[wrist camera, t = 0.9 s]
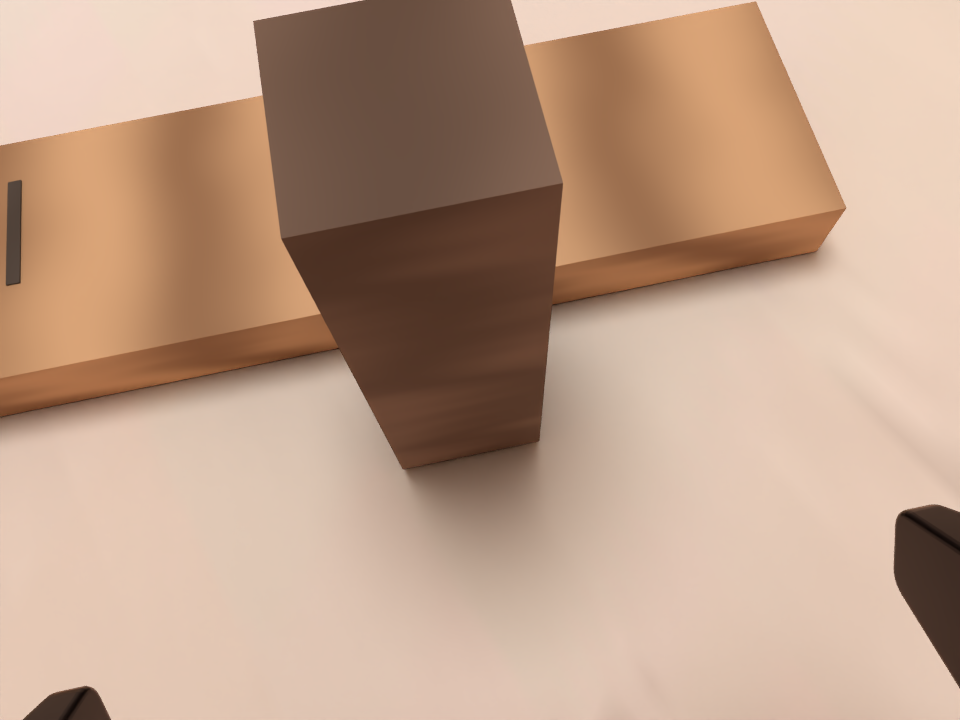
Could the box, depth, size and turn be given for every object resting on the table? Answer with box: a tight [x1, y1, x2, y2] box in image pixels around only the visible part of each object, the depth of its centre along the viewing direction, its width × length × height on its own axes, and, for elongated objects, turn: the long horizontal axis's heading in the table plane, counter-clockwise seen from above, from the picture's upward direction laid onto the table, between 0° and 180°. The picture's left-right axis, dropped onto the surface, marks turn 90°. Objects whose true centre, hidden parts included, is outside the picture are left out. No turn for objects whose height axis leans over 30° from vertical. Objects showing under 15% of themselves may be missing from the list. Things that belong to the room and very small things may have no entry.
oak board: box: [0, 2, 846, 417], centre depth 25 cm, size 36×8×3 cm, turn 102°
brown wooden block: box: [253, 0, 563, 469], centre depth 19 cm, size 4×12×13 cm, turn 12°
